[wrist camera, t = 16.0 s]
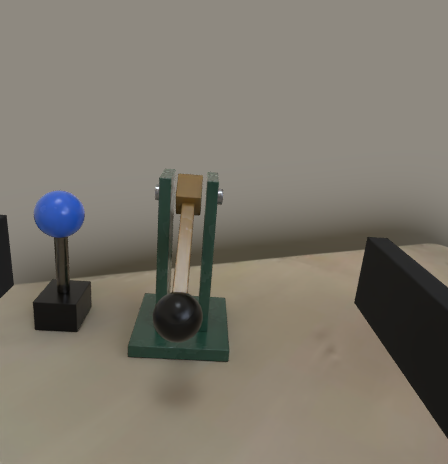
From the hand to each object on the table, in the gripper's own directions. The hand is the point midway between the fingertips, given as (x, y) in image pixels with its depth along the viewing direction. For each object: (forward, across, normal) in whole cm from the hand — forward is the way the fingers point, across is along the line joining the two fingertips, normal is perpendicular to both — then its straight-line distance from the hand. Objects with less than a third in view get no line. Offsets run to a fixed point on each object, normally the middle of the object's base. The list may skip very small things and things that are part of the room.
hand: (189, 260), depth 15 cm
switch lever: (+18, -1, -8) cm, 19 cm away
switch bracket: (+22, -1, -17) cm, 28 cm away
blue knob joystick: (+23, -13, -17) cm, 31 cm away
